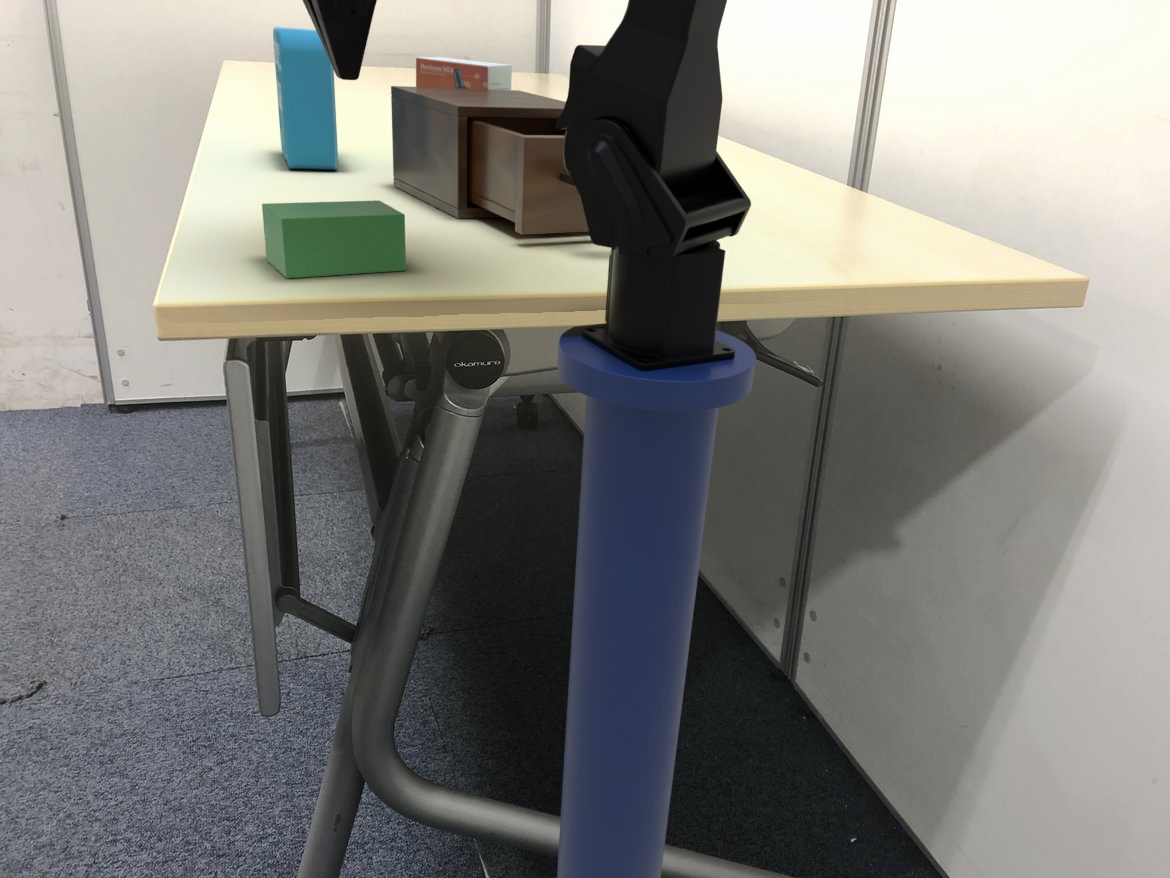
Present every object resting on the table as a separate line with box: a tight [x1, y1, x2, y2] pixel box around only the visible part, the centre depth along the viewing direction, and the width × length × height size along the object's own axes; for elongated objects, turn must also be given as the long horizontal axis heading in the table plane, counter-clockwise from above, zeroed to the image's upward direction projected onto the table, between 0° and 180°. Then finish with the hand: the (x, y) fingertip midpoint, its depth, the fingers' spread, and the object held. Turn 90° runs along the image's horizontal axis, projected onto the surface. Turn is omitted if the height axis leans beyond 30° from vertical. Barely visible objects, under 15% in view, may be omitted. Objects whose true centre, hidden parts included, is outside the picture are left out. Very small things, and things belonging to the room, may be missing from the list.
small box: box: [415, 56, 513, 90], centre depth 99 cm, size 8×6×10 cm
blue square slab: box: [272, 26, 339, 171], centre depth 96 cm, size 12×4×12 cm, turn 21°
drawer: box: [467, 117, 589, 235], centre depth 77 cm, size 18×11×7 cm, turn 33°
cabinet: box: [390, 85, 566, 219], centre depth 86 cm, size 15×13×9 cm
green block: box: [261, 200, 407, 279], centre depth 62 cm, size 5×8×4 cm, turn 123°
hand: (347, 79), depth 59 cm, fingers closed
